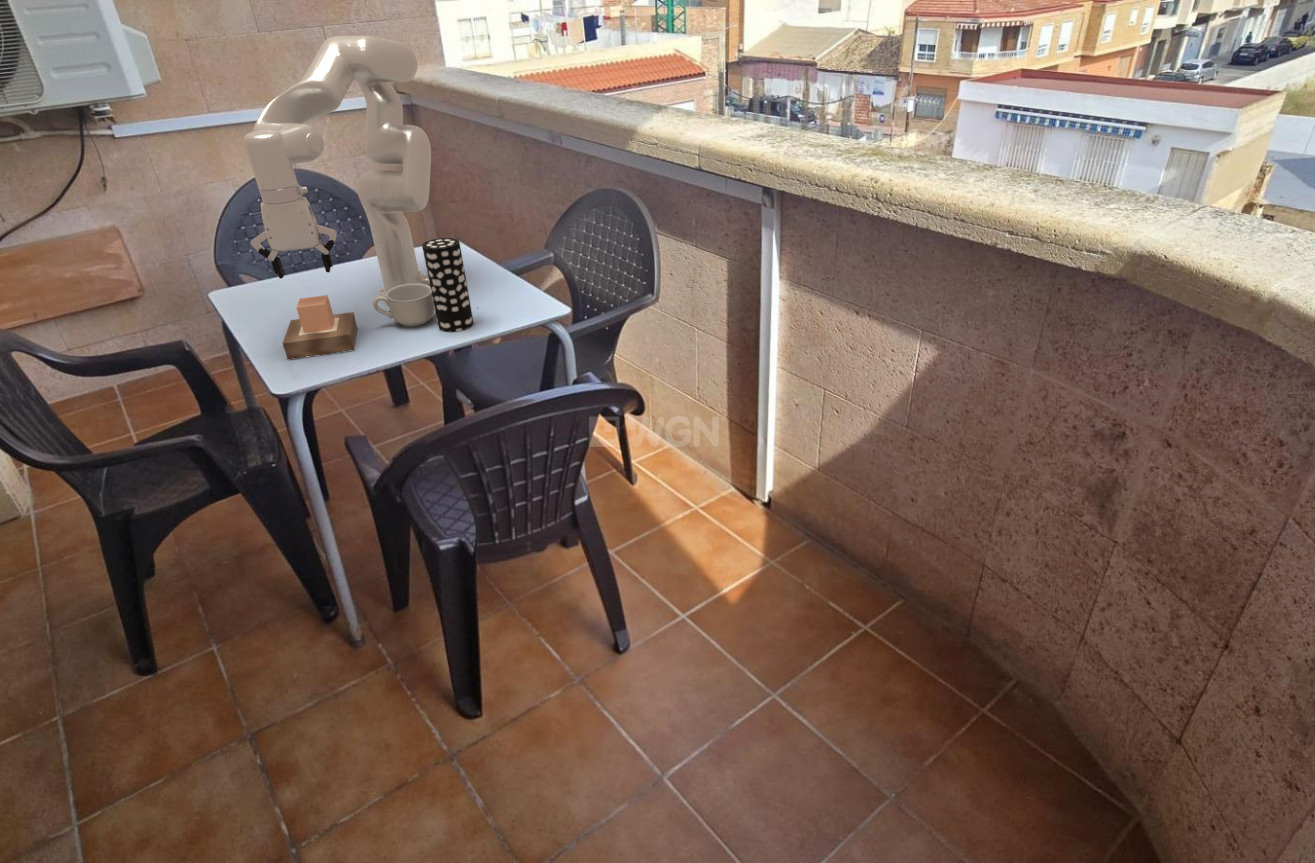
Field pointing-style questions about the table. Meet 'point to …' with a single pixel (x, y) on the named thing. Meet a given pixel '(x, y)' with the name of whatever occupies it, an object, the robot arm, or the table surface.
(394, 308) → the teacup
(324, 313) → the cube
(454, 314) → the spotted tube
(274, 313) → the table surface
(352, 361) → the table surface
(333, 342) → the plinth
